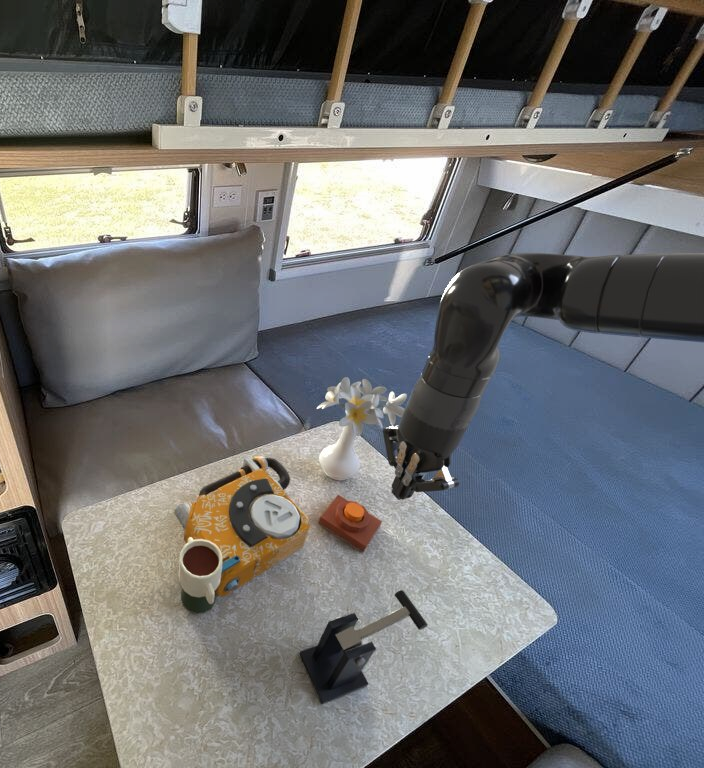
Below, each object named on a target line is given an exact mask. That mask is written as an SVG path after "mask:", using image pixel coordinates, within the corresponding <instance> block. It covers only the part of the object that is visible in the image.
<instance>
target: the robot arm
mask: <svg viewBox="0 0 704 768" xmlns="http://www.w3.org/2000/svg"><path fill="white" fill-rule="evenodd" d="M517 317H518V318H521V317H522V318H523V317H524V318H525V317H526V318H537V319H545V320H554V321H559V322H560V324H561V325H562V326H563V327H565V328H567V329H569V330H572V331H577V332H581V333H589V334H602V335H609V336H610V335H611V336H619V337H621V336H622V337H633V338H643V339H644V338H645V339H654V340H655V339H656V340H666V341H667V340H668V341H669V340H670V341H680V342H681V341H682V342H691V343H692V342H693V343H704V252H685V253H684V252H680V253H679V252H677V253H675V252H673V253H639V254H638V253H637V254H636V253H635V254H612V255H609V254H608V255H599V256H598V255H597V256H583V255H582V256H581V255H575V254H574V255H573V254H559V253H546V252H545V253H542V252H520V253H519V252H518V253H507V254H506V253H505V254H500V255H497V256H493V257H491V258H487V259H486V260H482V261H480V262H478V263H476V264H472V265H470V266H468V267H466V268H464V269H463V270H461V271H460V272H458V273H457V274H456V275H455V276H454V277H453V278H452V279H451V281H449V284H448V285H447V287H446V288H445V290H444V293H443V294H442V297H441V300H440V302H439V305H438V310H437V315H436V322H435V328H434V336H433V337H434V338H433V345H432V348H431V349H430V352H429V355H428V357H427V359H426V362H425V364H424V367H423V369H422V372H421V374H420V376H419V377H418V379H417V380H416V382H415V384H414V386H413V388H412V390H411V393H410V396H409V398H408V400H407V403H406V406H405V408H404V409H405V410H404V413H403V415H402V417H400V420H399V423H398V425H391V426H388V427H384V428H383V429H382V435H383V440H384V446H385V452H386V456H387V461H388V464H389V466H390V467H394V474H395V476H394V479H393V481H392V483H391V494H392V495H393V496H394V497H395V499H397V500H398V501H399V500H407V499H410V498H412V497H413V495H414V493H423V492H424V493H425V492H427V493H428V492H440V491H446V490H451V489H453V488H457V487H459V485H460V482H459V480H458V479H457V477H452V476H451V474H450V471H449V467H450V466H451V463H452V461H451V460H452V459H451V457H452V456H451V455H452V454H453V453H454V452H455V450H456V449H457V448H458V447H459V445H460V443H461V441H462V439H463V437H464V435H465V433H466V431H467V430H468V427H470V424H471V422H472V420H473V418H474V417H475V415H476V412H477V411H478V409H479V407H480V404H481V401H482V398H483V395H484V393H485V390H486V389H487V387H488V385H489V383H490V382H491V380H492V378H493V376H494V373H495V372H496V369H497V367H498V366H499V363H500V359H501V352H500V349H499V347H498V346H499V344H500V342H501V339H502V337H503V335H504V333H505V332H506V329H507V328H508V326H509V325H510V323H511V322H512V320H514V319H515V318H517ZM395 451H396V452H397V456H396V452H395ZM431 472H436V474H434V475H433V478H431V479H425V477H426V475H428V474H430V473H431Z"/></svg>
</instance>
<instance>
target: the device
mask: <svg viewBox="0 0 704 768" xmlns="http://www.w3.org/2000/svg"><path fill="white" fill-rule="evenodd" d="M242 465H243V466H241V467H240V469H239V470H237V471H234V472H232V473H230V474H228V475H226V476H223V477H222V478H220V479H218V480H215V481H213V482H212V483H209V484H207V485H205V486H202V488H201V489H200V491H199V493H198V496H197V500H196V501H194V502H192V504H191V506H190V505H189V503H187V502H182V503H178V505H177V506H176V507H175V508H174V510H173V513H174V515H175V517H176V518H177V520H178V521H179V524H180V525H181V526H182V529H184V534H183V535H184V537H183V538H184V539H183V540H184V542H185V544H186V543H187V542H188V538H189V537H191V538H193V540H195V539H204V540H209V541H211V542H212V543H214V544H216V545H217V547H218V548H219V549H220V551H221V553H222V560H223V561H222V572H221V580H220V584H219V586H218V587H217V589H216V590H215V591H214V592H215V594H216V597H224V596H227V595H229V594H231V593H232V592H234V591H236V590H237V589H238V588H240V587H242V586H244V585H246V584H248V582H251V581H252V580H253V579H254V578H256V577H257V576H259V575H261V574H262V573H265V572H266V571H268V570H270V569H271V568H273V567H275V566H276V564H278V563H279V562H281V561H283V560H285V559H286V558H288V557H289V556H290V555H292V554H294V553H296V552H297V551H299V550H301V549H302V548H303V547H304V545H305V543H306V540H307V537H308V534H309V529H310V526H311V523H310V519H309V518H308V516H307V515H306V513H304V511H302V509H301V508H300V507H298V505H297V504H296V503H295V502H294V501H293V500H292V499H291V498H290V497H289V495H288V493H287V492H286V491H285V490H286V489H287V488H288V486H289V485H290V482H291V477H290V474H289V472H288V470H287V469H286V467H285V466H284V465H283V464H282V463H281V462H280V461H279V460H277V459H276V458H273V457H265V456H263V455H261V456H258V455H257V456H254V457H253V458H251V457H250V456H249V455H247V456H245V457H244V458H243V464H242ZM269 468H270V469H272V470H273V471H274V472H275V473H276V475H278V478H279V480H275V479H274V478H273V476H272V475H271V474H270V475H269V474H268V473H267V470H268V469H269Z"/></svg>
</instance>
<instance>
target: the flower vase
mask: <svg viewBox="0 0 704 768" xmlns="http://www.w3.org/2000/svg"><path fill="white" fill-rule="evenodd" d="M361 384H362V386H361ZM336 385H337V386H334V385H333V386H328V387H327V389H326V391H327V392H326V394H325V400H326V401H323V402H322V403H320V404H319V405H318V406H317V407H316V410H319V409H321V410H324V409H326V408H328V407H333V406H336V405H338V406H340V407H342V408H344V412H345V413H344V414H345V416H343V417H341V419H340V420H339V422H338V424H339V426H341V427H343V428H342V430H341V433H340V436H339V438H338V440H337V441H336V442H335V443H334V444H329V445H327V446H326V447H324V448H323V449H322V451H321V452H320V454H319V457H318V461H319V464H320V466H321V468H322V469H323V472H324V473H325V475H326V476H327V477H328V478H330V479H332V480H335V481H340V482H341V481H345V480H347V479H351V478H353V477H355V476H356V475H358V474H359V472H360V470H361V460H360V457H359V456H358V453H356V451H355V449H354V444H355V442H356V441H355V440H356V437H361V436H362V434H363V433H364V424H365V425H369V426H375V425H378V426H379V427H380V428H381V429H382V430H383V429H384V428H383V424H382V421H381V419H384V414H385V415H387V416H388V420H389V423H390V425H391V426H395V424H396V422H397V421H396V420H397V417H396V416H398V417H399V418H402V415H403V413H404V410H405V408H404V407H402V406H401V405H403V404H404V403H405V402H406V400H407V398H408V394H407V393H402V394H400V395H399V396H397V397H396V394H395V392H394V391H390V392H389V395H388V397H386V396H384V395H383V394H384V393H386V392H387V389H388V388H387V387H385V386H376V387H374V388H373V386H372V384H371V382H370V381H369V380H368V379H366V378H363V379H361V380H360V381H355V382H353V383H352V384H351V381H350V378H349V377H348V376H346V377H343V378H342V379H341V381H340V382H339V383H338V384H336ZM361 394H362V395H361ZM340 399H344V400H345V401H347V402H345V403H344V404H343V403H341V402H340ZM380 402H386V403H385V404H383V403H380ZM379 403H380V404H379ZM379 407H383V408H382V410H381V408H379Z"/></svg>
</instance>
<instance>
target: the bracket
mask: <svg viewBox="0 0 704 768" xmlns="http://www.w3.org/2000/svg"><path fill="white" fill-rule="evenodd" d="M358 621H359V618H358V616H357V614H356V612H351V613H349V614H347V615H346V614H345V615H343V616H337V617H335V618H334V619H332V620H329V621H328V622H327V624H326V626H325V627H324V630H323V632H322V635H321V637H320V638H319V641H318V643H317V645H314V646H311V647H309V648H306V649H303V650H300V651H299V653H298V656H299V658H300V661H301V663H302V665H303V667H304V669H305V671H306V673H307V676H308V678H309V680H310V682H311V684H312V687H313V689H314V691H315V693H316V695H317V698H318V700H319V702H320V705H325V704H328V703H330V702H332V701H335V700H338V699H339V698H343V697H345V696H347V695H350V694H352V693H354V692H357V691H360V690H362V689H365V688H367V687H368V685H369V682H368V680H367V678H366V676H365V674H364V672H363V671H362V670H364V668H365V667H366V665H367V664H368V662H369V660H370V659H371V657H372V656H373V655H374V653H375V652H376V650H377V648H376V646H375V644H374V643H373V641H369V642H366V643H362V645H361V646H358V647H355V648H353V649H350V650H347V651H345V652H343V650H342V649H341V647H340V645H339V643H338V641H337V639H336V636H335V634H337V633H339V632H341V631H343V630H345V629H347V628H349V627H351V626H353V628H354V629H355V626H356V624H357V623H358Z"/></svg>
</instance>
